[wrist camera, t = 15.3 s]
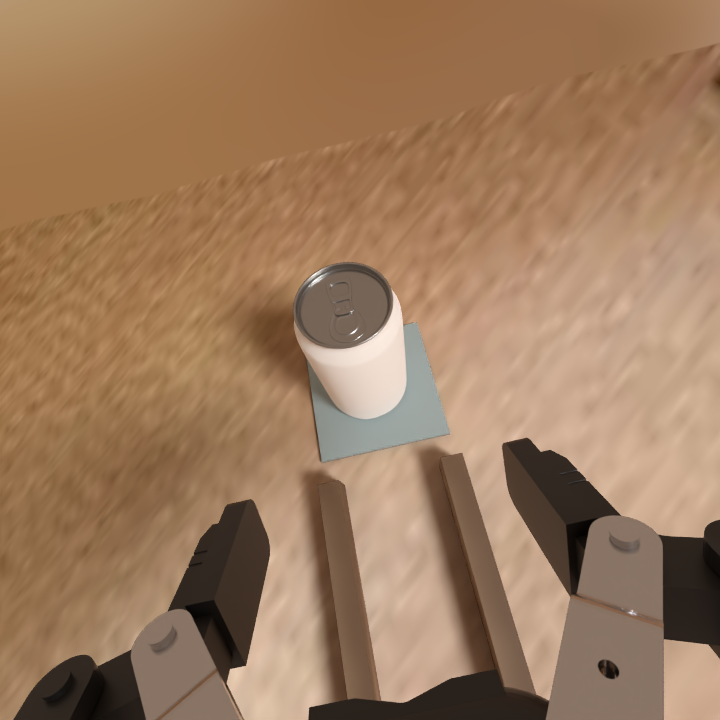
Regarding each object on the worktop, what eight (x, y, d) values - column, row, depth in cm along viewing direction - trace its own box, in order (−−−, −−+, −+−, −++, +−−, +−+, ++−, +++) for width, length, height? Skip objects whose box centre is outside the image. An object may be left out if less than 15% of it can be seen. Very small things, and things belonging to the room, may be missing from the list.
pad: (322, 462, 31) (321, 461, 30) (305, 350, 35) (305, 348, 35) (449, 434, 30) (450, 433, 30) (416, 324, 35) (416, 322, 34)
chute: (374, 822, 22) (369, 853, 20) (325, 489, 30) (317, 484, 28) (557, 787, 22) (573, 815, 19) (458, 459, 29) (462, 452, 27)
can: (335, 429, 31) (292, 368, 21) (323, 357, 34) (279, 270, 23) (415, 410, 31) (414, 339, 20) (396, 339, 34) (386, 244, 23)
